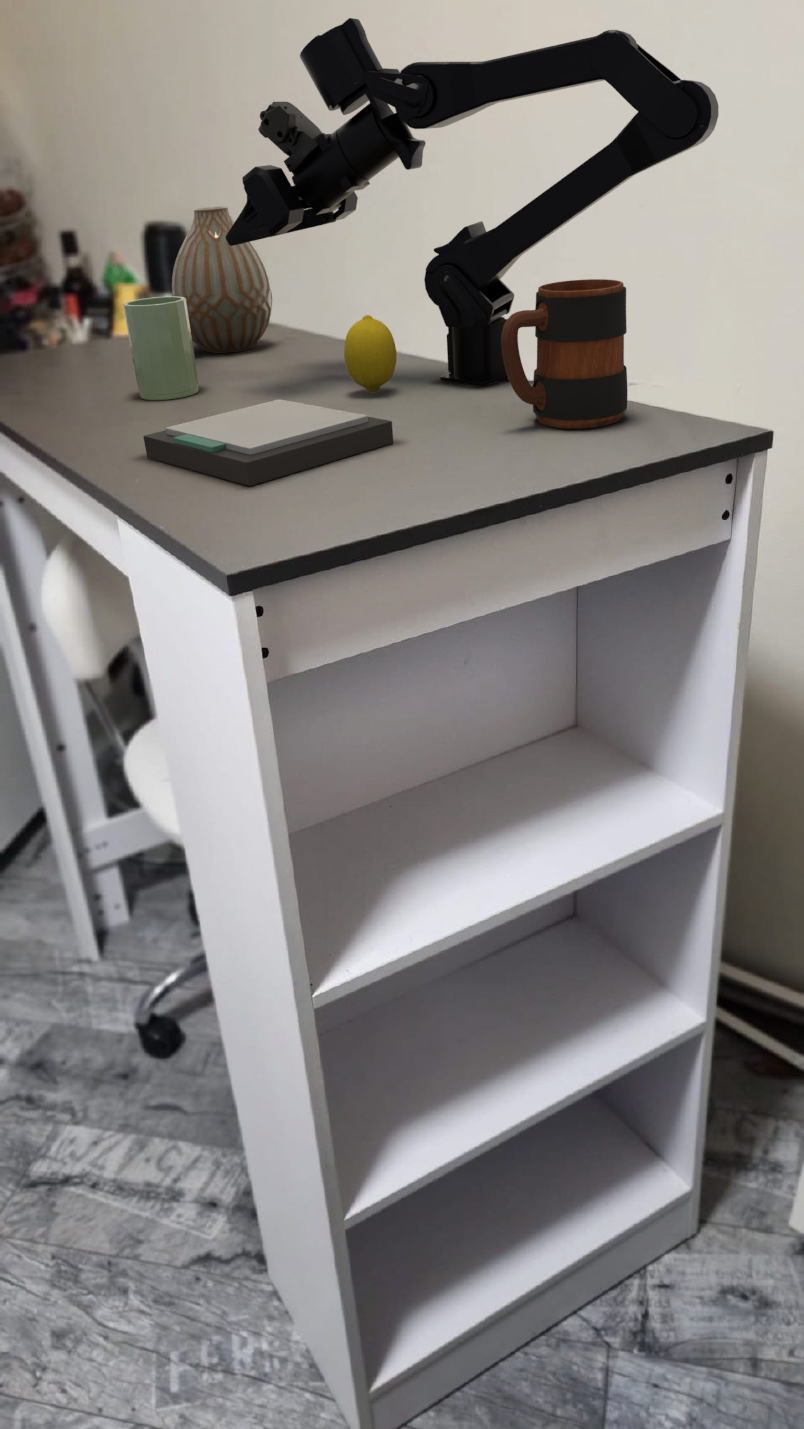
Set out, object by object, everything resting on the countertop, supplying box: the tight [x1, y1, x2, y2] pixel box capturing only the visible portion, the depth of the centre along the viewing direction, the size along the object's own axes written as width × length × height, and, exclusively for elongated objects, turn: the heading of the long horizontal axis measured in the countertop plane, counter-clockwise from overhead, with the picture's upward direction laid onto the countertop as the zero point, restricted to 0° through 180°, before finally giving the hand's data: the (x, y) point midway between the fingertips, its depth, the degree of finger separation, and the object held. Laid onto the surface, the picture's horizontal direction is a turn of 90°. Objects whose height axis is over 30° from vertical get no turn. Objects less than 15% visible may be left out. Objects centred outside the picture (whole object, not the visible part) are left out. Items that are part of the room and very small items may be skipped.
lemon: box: [343, 314, 397, 394], centre depth 116 cm, size 6×6×8 cm
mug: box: [501, 278, 628, 430], centre depth 99 cm, size 9×12×12 cm
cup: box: [122, 295, 200, 401], centre depth 123 cm, size 7×7×10 cm
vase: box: [171, 206, 273, 354], centre depth 145 cm, size 13×13×18 cm
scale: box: [142, 398, 394, 487], centre depth 99 cm, size 16×16×3 cm
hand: (248, 237), depth 122 cm, fingers open, 9 cm apart
